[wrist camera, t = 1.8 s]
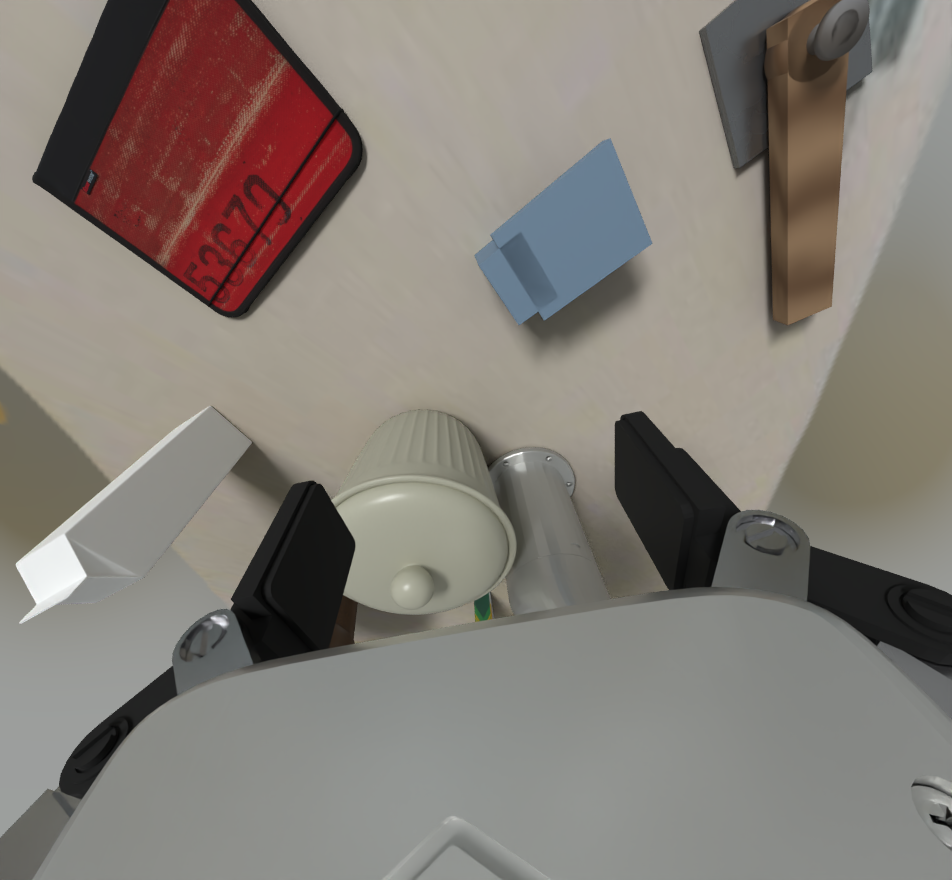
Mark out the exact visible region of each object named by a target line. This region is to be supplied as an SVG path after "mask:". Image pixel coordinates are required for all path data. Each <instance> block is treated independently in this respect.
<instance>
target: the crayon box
mask: <svg viewBox="0 0 952 880" xmlns="http://www.w3.org/2000/svg"><path fill="white" fill-rule="evenodd" d="M474 606H475V622H479V621H485V620H490V619H494V613H493V607H492V600H491V595H490V592H489V593H487V594H486V595H484V596H483V597H481V598H479V599H477V600H475V601H474Z"/></svg>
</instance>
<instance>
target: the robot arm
mask: <svg viewBox="0 0 952 880" xmlns="http://www.w3.org/2000/svg"><path fill="white" fill-rule="evenodd" d="M488 471H489V474H490V477H491V480H492V483H493V486H494V490H495V493H496V496H497V499H498V502H499V505H500V508H501V509H502V510H503V511H504V513H505V514H506V515H507V517H508V518H509V520H510V522H511V524H512V526H513V528H514V531H515V535H516V542H517V550H516V556H515V560H514V563H513V565H512V567H511V569H510V571H509V572H508V574H507V575H506V584H507V590H508V597H509V602H510V606H511V610H512V612H513V616H508V617H502V618H496V619H490V620H485V621H479V622H473V623H468V624H462V625H456V626H451V627H445V628H439V629H434V630H428V631H422V632H417V633H411V634H406V635H400V636H395V637H389V638H384V639H378V640H373V641H367V642H362V643H356V644H351V645H345V646H340V647H334V648H329V646H330V642H331V638H332V635H333V631H334V627H335V623H336V620H337V616H338V612H339V608H340V605H341V601H342V597H343V594H344V590H345V586H346V582H347V579H348V575H349V571H350V567H351V564H352V560H353V556H354V552H355V547H356V545H355V540H354V537H353V536H352V534H351V532H350V531H349V529H348V527H347V526H346V524H345V522H344V521H343V519H342V517H341V516H340V514H339V512H338V511H337V509H336V507H335V506H334V504H333V502H332V501H331V499H330V498H329V496H328V494H327V493H326V491H325V489H324V488H323V486H322V485H321V484H317V483H316V482H315V481H306V482H302V483H297V484H294V485H293V486H292V487H291V489H290V491H289V493H288V494H287V496H286V498H285V500H284V502H283V504H282V506H281V507H280V509H279V511H278V513H277V515H276V517H275V518H274V520H273V522H272V524H271V526H270V528H269V530H268V531H267V533H266V535H265V537H264V539H263V541H262V542H261V544H260V546H259V548H258V550H257V552H256V554H255V555H254V557H253V559H252V561H251V563H250V565H249V566H248V568H247V570H246V572H245V574H244V576H243V578H242V579H241V581H240V583H239V585H238V587H237V589H236V590H235V592H234V594H233V596H232V598H231V600H232V601H233V602H234V604H233V606H232V608H231V610H228V609H220V610H216V611H213V612H211V613H209V614H207V615H205V616H204V617H202V618H200V619H199V620H198V621H196V622H195V623H194V624H193V625H192V626H191V627H190V628H189V629H188V630H187V631H186V632H185V633H184V634H183V635H182V637H181V638H180V640H179V641H178V643H177V644H176V647H175V649H174V651H173V657H172V663H173V666H172V667H171V668H169V669H168V670H167V671H166V672H164V673H163V674H162V675H160V676H159V677H158V678H157V679H156V680H154V681H153V682H152V683H150V684H149V685H148V686H147V687H146V688H144V689H143V690H142V691H140V692H139V693H138V694H137V695H135V696H134V697H133V698H132V699H130V700H129V701H128V702H127V703H125V704H124V705H123V706H122V707H120V708H119V709H118V710H117V711H115V712H114V713H113V714H112V715H110V716H109V717H108V718H107V719H105V720H104V721H103V722H101V724H99V725H98V726H97V727H96V728H94V729H93V730H92V731H91V732H90V733H89V734H88V735H87V736H86V737H85V738H84V739H83V740H82V741H81V743H80V744H79V745H78V746H77V747H76V748H75V750H74V751H73V753H72V754H71V756H70V757H69V759H68V760H67V762H66V764H65V766H64V768H63V770H62V773H61V777H60V781H59V787H58V788H57V789H56V790H55V791H53V790H49V789H47V790H46V791H45V792H44V793H43V794H42V795H41V796H40V797H39V798H38V799H37V800H36V801H35V802H34V803H33V805H32V806H31V807H30V808H29V809H28V810H27V811H26V812H25V813H24V814H23V815H22V816H21V817H20V818H19V819H18V820H17V821H16V822H15V823H14V824H13V825H12V826H11V827H10V828H9V829H8V830H7V831H6V832H5V834H3V836H2V837H1V838H0V880H952V595H950V594H949V593H947V592H945V591H942V590H939V589H937V588H935V587H932V586H930V585H927V584H924V583H921V582H918V581H915V580H912V579H909V578H906V577H903V576H900V575H897V574H894V573H891V572H888V571H884V570H882V569H879V568H875V567H872V566H869V565H866V564H863V563H860V562H857V561H854V560H851V559H848V558H845V557H842V556H839V555H836V554H833V553H830V552H827V551H824V550H820V549H818V548H815V547H812V546H810V542H809V538H808V536H807V535H806V533H805V532H804V530H803V529H801V528H800V527H799V526H798V525H797V524H796V523H794V522H793V521H791V520H789V519H787V518H785V517H784V516H781V515H778V514H775V513H772V512H768V511H762V510H746V511H742V512H741V511H740V510H739V509H738V508H737V507H736V506H735V504H734V503H733V502H732V501H731V500H730V499H729V498H728V497H727V496H726V495H725V494H724V492H723V491H722V490H721V489H720V488H719V487H718V486H717V485H716V484H715V483H714V482H713V480H712V479H711V478H710V477H709V476H708V475H707V474H706V473H705V472H704V471H703V470H702V468H701V467H700V466H699V465H698V464H697V463H696V462H695V461H694V460H693V459H692V458H691V456H690V455H689V454H688V453H687V452H686V451H685V450H683V449H681V448H675V447H674V446H673V445H672V444H671V443H670V442H669V440H668V439H667V438H666V437H665V436H664V435H663V434H662V433H661V431H660V430H659V429H658V428H657V427H656V426H655V425H654V424H653V422H652V421H651V420H650V419H649V418H648V417H647V416H646V415H645V413H643V412H642V411H639V412H634V413H630V414H625V415H622V416H621V418H620V420H619V421H616V422H615V491H616V495H617V497H618V499H619V501H620V503H621V505H622V506H623V508H624V510H625V512H626V514H627V515H628V517H629V519H630V521H631V523H632V525H633V526H634V528H635V530H636V532H637V534H638V535H639V537H640V539H641V541H642V543H643V544H644V546H645V548H646V550H647V552H648V553H649V555H650V557H651V559H652V561H653V563H654V564H655V566H656V568H657V570H658V572H659V573H660V575H661V577H662V579H663V581H664V582H665V584H666V586H667V588H668V589H669V590H668V591H659V592H653V593H646V594H640V595H633V596H627V597H620V598H614V599H611V598H610V596H609V593H608V591H607V589H606V586H605V584H604V581H603V579H602V576H601V574H600V571H599V569H598V566H597V564H596V561H595V559H594V556H593V553H592V551H591V548H590V546H589V543H588V541H587V538H586V536H585V533H584V531H583V528H582V526H581V523H580V521H579V518H578V516H577V513H576V511H575V508H574V506H573V503H572V501H571V498H570V497H571V495H572V493H573V490H574V486H575V478H574V474H573V471H572V469H571V467H570V465H569V463H568V462H567V461H566V459H565V458H563V457H562V456H561V455H560V454H558V453H556V452H554V451H552V450H548V449H545V448H537V447H529V448H522V449H517V450H514V451H511V452H508V453H506V454H505V455H503V456H501V457H499V458H498V459H497V460H496V461H494V462H493V463H492V464H491V465H490V467H489V468H488ZM328 648H329V649H328Z"/></svg>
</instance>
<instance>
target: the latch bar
mask: <svg viewBox="0 0 952 880" xmlns="http://www.w3.org/2000/svg"><path fill="white" fill-rule="evenodd" d="M868 19H869V3H868V1H867V0H810V1H808V2H806V3H804V4H803V5H801V6H799V7H797V8H795V9H794V10H792V11H791V12H790V13H789V14H788V15H787V16H786V17H785V18H784V19H783V20H781V21H780V22H778V23H776V24H775V25H773V26H771V27H770V28H768V29H766V34H767V50H766V55H765V61H764V68H765V75H766V78H767V80H768V121H769V165H770V209H771V252H772V296H773V320H775V321H778V322H780V323H783V324H786V325H790V324H792V323H794V322H797V321H799V320H801V319H804V318H806V317H808V316H811V315H813V314H815V313H817V312H820V311H822V310H824V309H827V308H829V307H831V306H832V293H833V279H834V264H835V249H836V235H837V220H838V205H839V191H840V176H841V161H842V147H843V132H844V117H845V103H846V88H847V73H848V59H849V51H850V50H851V49H852V48H853V47H854V46H855V45H856V44H857V42H858V41H859V40H860V38H861V36H862V35H863V33H864V31H865V28H866V26H867V23H868Z"/></svg>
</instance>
